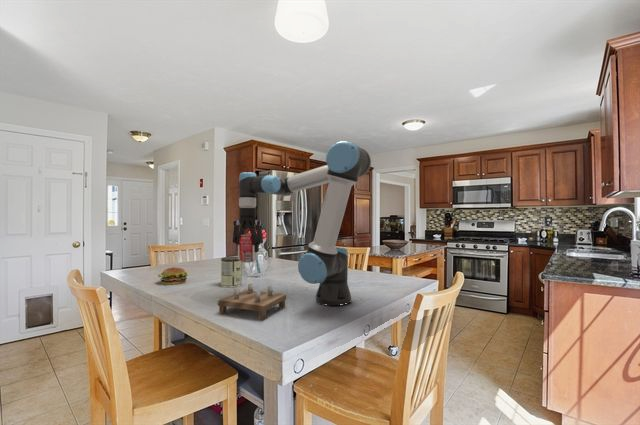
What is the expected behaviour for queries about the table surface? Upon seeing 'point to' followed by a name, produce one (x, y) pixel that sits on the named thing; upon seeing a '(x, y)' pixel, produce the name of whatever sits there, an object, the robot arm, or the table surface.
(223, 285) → the coffee can
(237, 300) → the peg shelf
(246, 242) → the soda can
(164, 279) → the food
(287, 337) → the table surface
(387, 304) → the table surface
